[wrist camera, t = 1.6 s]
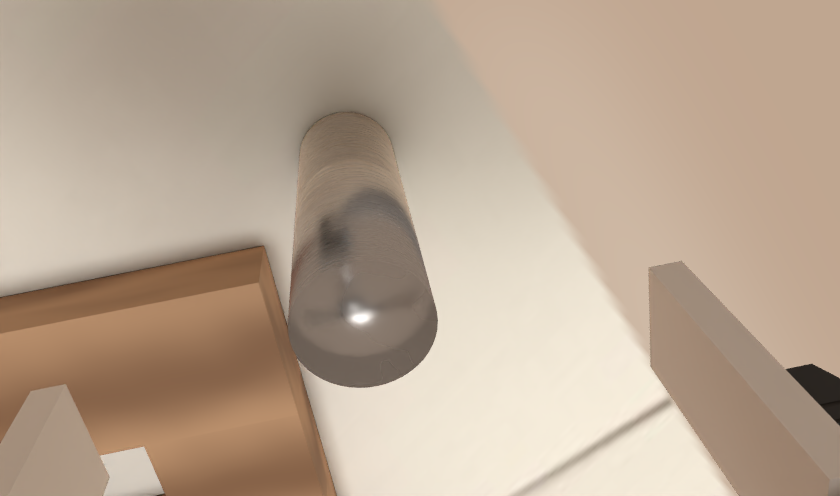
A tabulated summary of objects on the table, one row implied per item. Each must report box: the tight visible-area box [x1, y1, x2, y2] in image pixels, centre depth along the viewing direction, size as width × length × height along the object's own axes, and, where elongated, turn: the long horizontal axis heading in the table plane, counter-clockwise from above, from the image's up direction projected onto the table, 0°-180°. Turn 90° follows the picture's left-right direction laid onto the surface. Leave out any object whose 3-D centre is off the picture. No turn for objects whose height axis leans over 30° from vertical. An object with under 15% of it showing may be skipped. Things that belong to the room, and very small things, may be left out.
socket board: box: [0, 246, 337, 496], centre depth 32 cm, size 18×18×3 cm
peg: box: [288, 112, 438, 388], centre depth 23 cm, size 4×4×12 cm
